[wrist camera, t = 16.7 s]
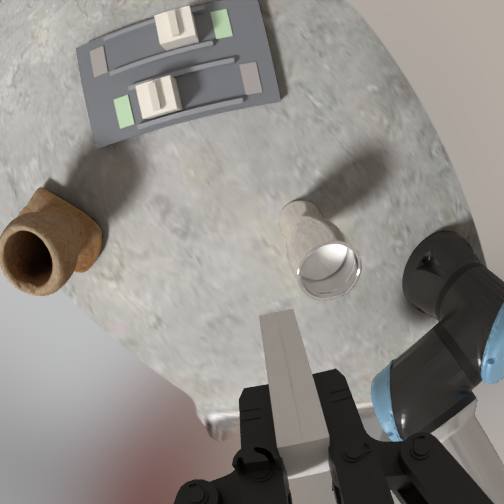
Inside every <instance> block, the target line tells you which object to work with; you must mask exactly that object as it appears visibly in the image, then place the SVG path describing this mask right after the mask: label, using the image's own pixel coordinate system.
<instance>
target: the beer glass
mask: <svg viewBox="0 0 504 504" xmlns="http://www.w3.org/2000/svg"><path fill="white" fill-rule="evenodd" d="M278 226H279V229H280V232H281V233H282V235H283V236H284V237H285V238H286V253H287V259H288V262H289V265H290V268H291V270H292V272H293V274H294V276H295V278H296V280H297V281H298V283H299V286H300V288H301V289H302V291H303V292H304V293H305V294H306V295H307V296H309V297H311V298H313V299H316V300H322V301H327V300H333V299H336V298H339V297H341V296H343V295H345V294H346V293H347V292H349V291H350V290H351V289H352V288H353V287H354V285H355V284H356V283H357V281H358V279H359V277H360V273H361V267H362V265H361V259H360V256H359V254H358V252H357V251H356V249H355V248H354V246H353V245H352V243H351V242H350V240H349V239H348V237H347V236H346V235H345V234H344V232H343V231H342V230H341V229H340V228H339V227H338V226H336V225H335V224H334V223H332V222H331V221H329V220H327V219H325V218H323V217H321V214H320V212H319V210H318V209H317V207H316V206H315V205H314V204H312V203H310V202H308V201H304V200H297V201H293V202H291V203H289V204H288V205H286V206H285V207H284V208H283V209H282V211H281V213H280V215H279V219H278Z"/></svg>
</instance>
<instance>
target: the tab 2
mask: <svg viewBox="0 0 504 504" xmlns="http://www.w3.org/2000/svg"><path fill="white" fill-rule="evenodd" d="M135 87H136V92H137V96H138V101H139V105H140V110H141V114H142V118H143V119H150V118H155V117H158V116H161V115H165V114H168V113H172V112H175V111H179V110H183V108H182V104H181V99H180V95H179V90H178V86H177V81H176V79H175V78H173V77H172V76H170V75H168V76H165V77H162V78H158V79H155V80H152V81H149V82H146V83H143V84H140V85H137V86H135Z"/></svg>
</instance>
